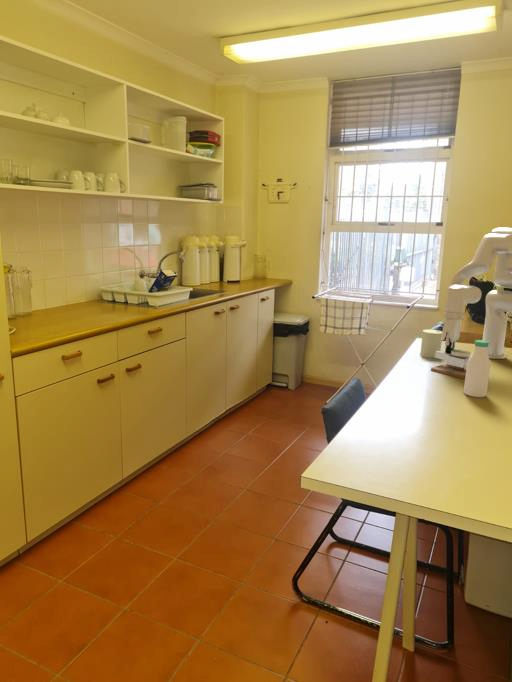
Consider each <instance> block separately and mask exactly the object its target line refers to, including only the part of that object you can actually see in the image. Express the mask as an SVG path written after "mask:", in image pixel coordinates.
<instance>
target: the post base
mask: <svg viewBox="0 0 512 682" xmlns="http://www.w3.org/2000/svg"><path fill="white" fill-rule="evenodd" d="M454 357H455V356H454ZM458 358H461V357H458ZM466 369H467V367H464V368H461V367H457V366H453V365H449V364H447V362H446V363H443V364H439V365H436V366H435V365H434V366H433V367H431V368H430V371H431V372H436V373H439V374H443V375H447V376H451V377H454V378H458V379H462V380H465V377H466Z"/></svg>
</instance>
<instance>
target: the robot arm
mask: <svg viewBox="0 0 512 682" xmlns="http://www.w3.org/2000/svg"><path fill="white" fill-rule="evenodd" d="M495 260H496V261H495ZM494 262H495V267H494V271H493V272H494V273H493V278H492V283H493V285H494V286H496V287H499V288H506V289H512V227H496V228H493V229H492V230H491V232H490V233H488V234H485V235H484V236H483V237H482V238H481V240H480V242H479V244H478V247H477V249H476V251H475V253H474V255H473V256H472V259H471V261H470V262H469V263H467V264H466V265H464V266H462V267H461V268H459V269H458V271H456V273H454V274H453V276H452V278H451V280H450V282H449V284H448V287H447V290H446V300H445V308H444V322H443V325H442V326H443V328H442V330H441V331H442V338H441V340H442V342H445V343H444V345H445V350H444V352H446V353H451V350H452V349H455V347H456V342H457V341H458V340H459V339H460V336H461V326H462V320H464V313H465V306H466V304H477V303H478V302H479V301H480V300H481V298H482V294H483V293H482V290H481V289H480V288H479V287H477V286H475V285H469V284H463V283H465V281H467V280H468V279H469V278H472V277H475V276H479V275H481V274H484V273H487V272H488V271H490V270H491V268H492V266H493V263H494ZM484 302H485V319H484V326H483V334H482V340H483V341H487V342H489V345H488V348H487V353H488V357H489V359H492V360H493V359H494V360H501V359H502V360H504V359H506V358H507V354H505V353H504V350H506V346H505V339H506V333H507V328H508V327H507V326H508V317H507V315H506V313H511V314H512V291H510V290H504V289H502V290H501V289H492V290H490V291H488V293H487V294H486V295H485V299H484ZM505 312H506V313H505Z"/></svg>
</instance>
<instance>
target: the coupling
mask: <svg viewBox="0 0 512 682" xmlns="http://www.w3.org/2000/svg"><path fill="white" fill-rule="evenodd" d="M454 356H455V357H454ZM470 356H471V352H470V351H468V350H464V349H455V348H454V349H452V350H451V353H446V352H445V351H442V350H441V351H435V357H434V359H438V360H442V361H446V363H447V364H449V365H453V366H457V367H461V368H464V367H467V363H468V360H469V358H470ZM458 357H461V358H458Z"/></svg>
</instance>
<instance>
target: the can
mask: <svg viewBox="0 0 512 682" xmlns="http://www.w3.org/2000/svg"><path fill="white" fill-rule="evenodd" d="M442 331H443V330H438V329H437V330H436V329H423V330H422V336H421V345H420V353H419V354H420V356H422V357H425V358H426V357H427V358H435V351H442V349H441V348H442V342H443V341H442V340H441V338H442Z"/></svg>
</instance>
